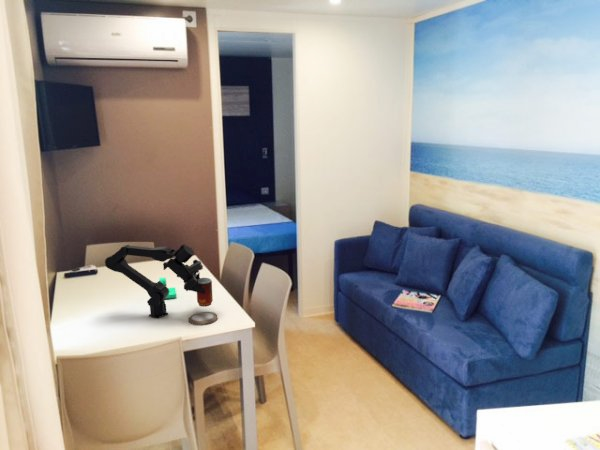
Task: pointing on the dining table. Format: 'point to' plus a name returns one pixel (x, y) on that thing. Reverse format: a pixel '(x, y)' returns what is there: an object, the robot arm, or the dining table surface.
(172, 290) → the camera mount
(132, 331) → the dining table surface
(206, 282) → the soda can
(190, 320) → the brown rimmed plate
